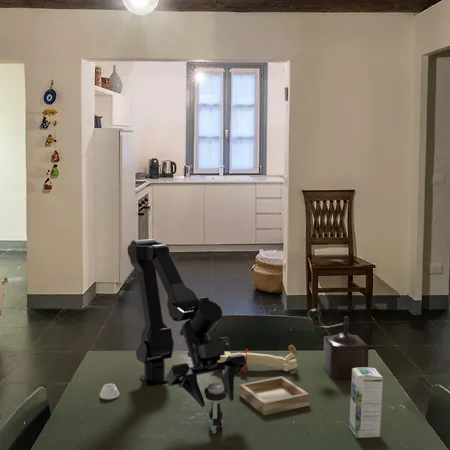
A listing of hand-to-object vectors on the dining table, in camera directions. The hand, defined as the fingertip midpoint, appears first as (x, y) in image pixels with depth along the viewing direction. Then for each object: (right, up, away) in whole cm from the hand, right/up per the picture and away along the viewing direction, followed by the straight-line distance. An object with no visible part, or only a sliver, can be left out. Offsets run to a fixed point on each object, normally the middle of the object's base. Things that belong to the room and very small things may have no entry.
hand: (218, 403), depth 141 cm
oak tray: (+14, -4, +18) cm, 23 cm away
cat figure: (+10, -2, +39) cm, 40 cm away
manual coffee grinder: (+33, -2, +37) cm, 50 cm away
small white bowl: (-29, -4, +20) cm, 35 cm away
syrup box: (+34, -7, +1) cm, 34 cm away
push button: (-1, -7, +2) cm, 7 cm away
